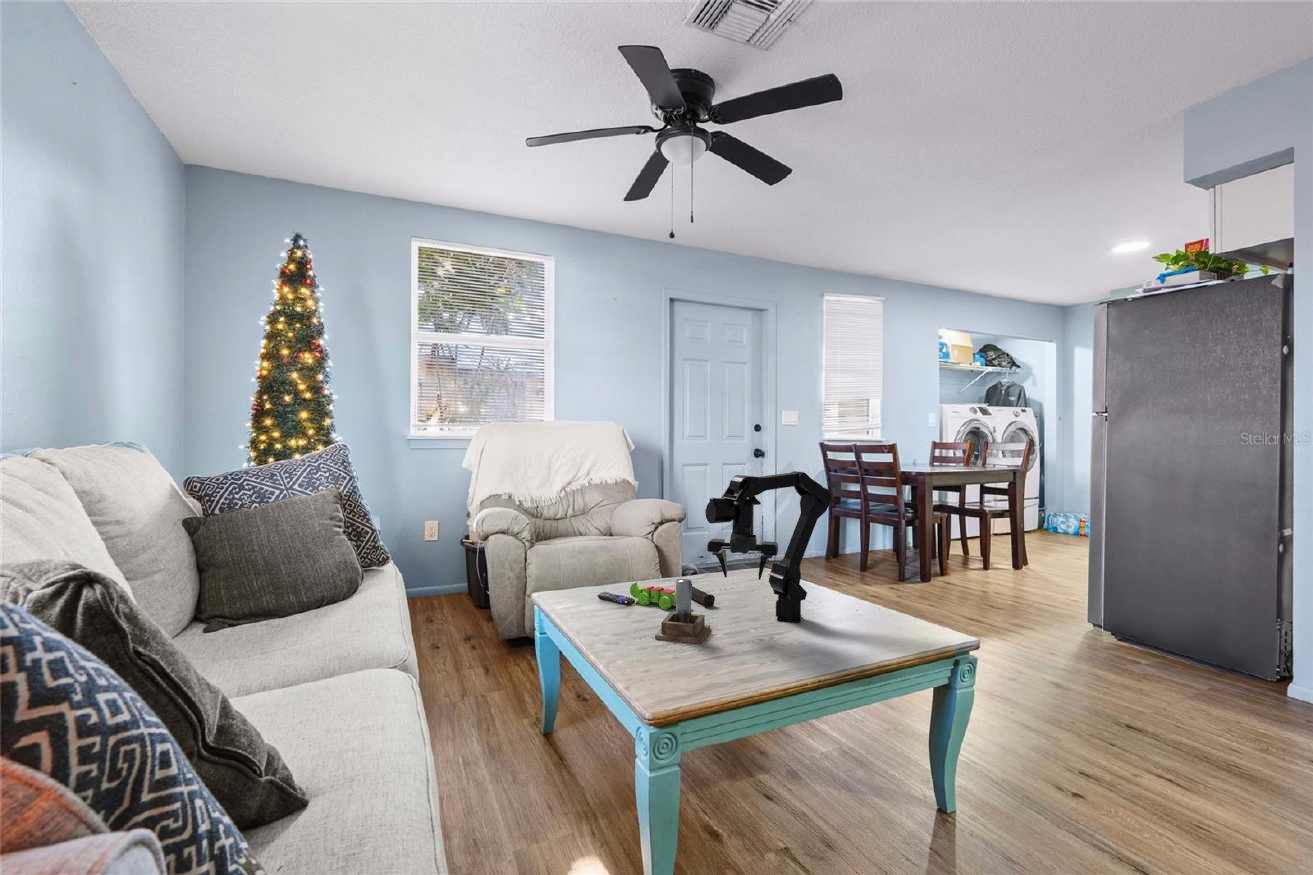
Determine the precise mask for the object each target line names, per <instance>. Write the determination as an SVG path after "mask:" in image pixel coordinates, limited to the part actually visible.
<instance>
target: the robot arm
mask: <svg viewBox="0 0 1313 875" xmlns="http://www.w3.org/2000/svg"><path fill="white" fill-rule="evenodd" d="M783 488H784V489H785V488H794V490H795V493H797V494H798V495H799V496H800V500H799V507H800V514H799V516H798V520H797V523H796V525H795V528H794V530H793V532H792V535H791V538H790V541H789V543H788V546H787V549H786V551H785V553H784V557H783V558H782V559H781V561H779V562H776V561H774V562H773V563H772V566H771V570H769V571H770V572H769V573H768V574H767V575H768V576H769V578H768V583H769V586H770V587H771V589H772V592H773V594H774V595H777V599H776V602H775V617H776V621H780V622H790V623H801V622H802V618H803V617H802V601H805V600H806V599H807V595H808V592H807V591H806V589H804V588H803V587H802V585H801V584H800V583H801V578H802V575H801V574H802V573H801V564H802V561H803V559H804V557H805V554H806V550H807V548H808V545H809V544H810V543H809V542H810V540H811V537H812V535H813V531H814V530H815V527H816V524H817V521H818V519H820V518H821V516H822V515H824V514H825V513H826V512H827V510H828V508H829V506H830V505H831V502H832V498H833V496H832V494H831V492H830V490H829V489H828V488H826V487H823V485H822V484H820V483H819V482H817V481H816V480H814V479H813V478H811V477H810V476H809V475H808V474H807V473H806V472H804V471H796V470H793V471H791V472H785V473H778V474H777V473H776V474H769V475H763V476H754V475H753V476H752V475H743V474H736V475H733V476H732V478H731V479H730V481H729V484H728V486H727V488H726V489H725V491H724V492H723V494H722V495H721V497H718V498H717V497H710V498H709V502H708V503H707V505H706V507H705V510H704V512H705V518H706V520H707V522H708V523H709V524H721V523H723V524H724V523H732V524H731V525H732V527H731V528H732V530H731V535H730V539H729V542H726V541H725V540H726V539H725V538H711V539H710V540H709V541H708V542H707V546H706V548H707V552H708V553H712V555H713V556H716V558H717V559H718V561H719V563H720V566H721V569H722V572H723V576H724V578H727V577H728V560H727V550H729V551H730V553H731V554H735V553H737V554H745V555H746V554H748V553H749V551H750V552H751V551H752V552H761V555H760V559H759V560H760V561H759V569H758V580H759V581H760V580H761V578H762V576H763V572H764V569H765V566H766V564H767V562H768V559H772V558H773V556H778V553H779V544H778V542H777V541H763V542H762V544H761V543H758V544H757V542H758V541H757V535H756V534H754V518H755V517H754V512H755V511H754V510H755V508H754V506H757V505H758V506H759V505H761V503H762V502H761V501H760V500H759V499H758V498H757V497H756V496H759V495H761V494H762V493H764V492H765V491H770V490H778V489H783Z"/></svg>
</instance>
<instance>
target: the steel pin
mask: <svg viewBox="0 0 1313 875" xmlns="http://www.w3.org/2000/svg"><path fill="white" fill-rule="evenodd" d="M691 583H692V580H691V579H689V578H679V579H676V580H675V592H676V606H675V612H676V622H679V623H689V624H691V614H692V598H691Z"/></svg>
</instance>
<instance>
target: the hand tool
mask: <svg viewBox="0 0 1313 875" xmlns="http://www.w3.org/2000/svg"><path fill="white" fill-rule="evenodd" d="M691 599H692V600H695V601H697V602H698V603H700V604H701V605H702V606H703V608H711V607H714V605H715V600H716V597H715V596H714V594H712V593H711V594H710V593H709V594H708V593H707V592H705V591H704V590H700V589H699V588H696V587H695V586H693V583H692V582H691Z"/></svg>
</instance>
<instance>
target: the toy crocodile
mask: <svg viewBox="0 0 1313 875" xmlns="http://www.w3.org/2000/svg"><path fill="white" fill-rule="evenodd" d="M629 592H630V595H631V597H633V598H635V599H637V600H638V603H639V605H642V606H647V605H648V604H650V602H651V603H657V604H658V605H659V607H660V608H661V609H662V610H664V609H665V610H669V609H670V608H671V607H672V606H675V607H676V589H671V588H670V589H669V588H665V587H662V586H656V587H655V586H653V585H651V586H647V587H639V586H638V581H635V582H633V583H632V584H631V585H630V588H629Z"/></svg>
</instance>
